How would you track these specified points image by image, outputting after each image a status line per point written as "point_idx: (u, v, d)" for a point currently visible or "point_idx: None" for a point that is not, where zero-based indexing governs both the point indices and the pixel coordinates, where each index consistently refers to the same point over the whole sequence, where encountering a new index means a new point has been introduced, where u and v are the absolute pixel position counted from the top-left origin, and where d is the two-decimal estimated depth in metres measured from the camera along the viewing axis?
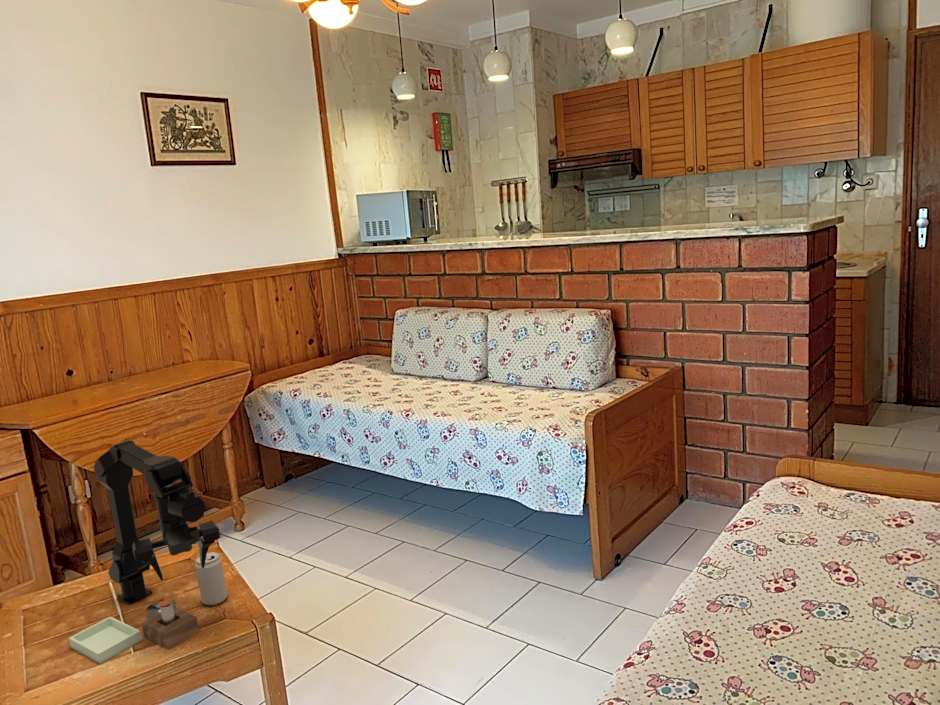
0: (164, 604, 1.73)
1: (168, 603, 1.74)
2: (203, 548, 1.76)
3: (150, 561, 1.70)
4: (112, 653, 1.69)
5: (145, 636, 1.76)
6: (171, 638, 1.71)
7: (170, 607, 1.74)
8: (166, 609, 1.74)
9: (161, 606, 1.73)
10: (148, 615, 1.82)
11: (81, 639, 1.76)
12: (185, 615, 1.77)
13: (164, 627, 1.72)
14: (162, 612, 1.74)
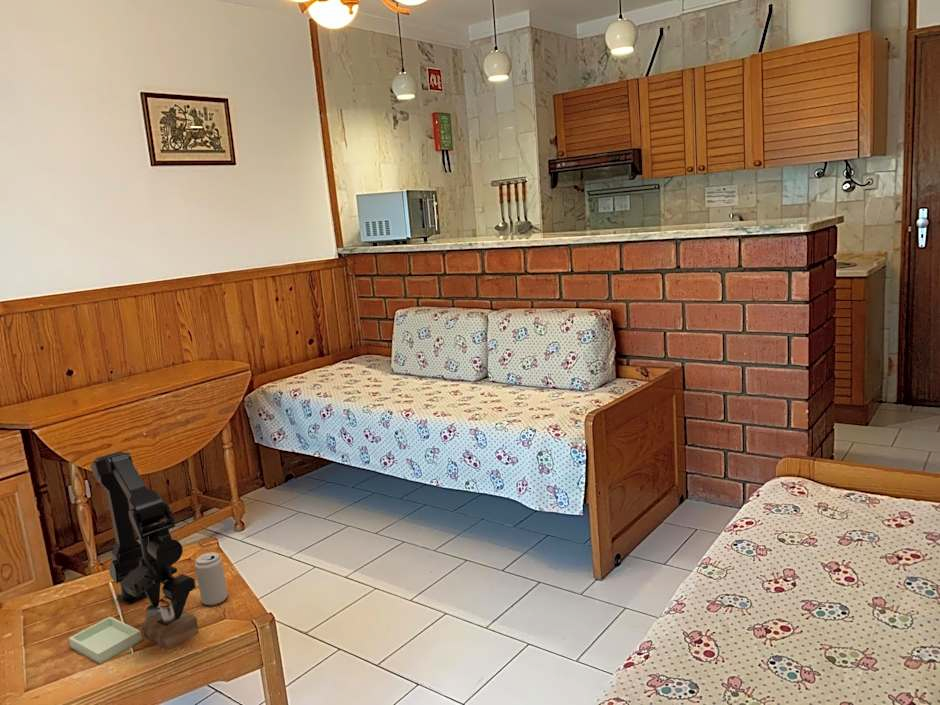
0: (164, 604, 1.73)
1: (168, 603, 1.74)
2: None
3: None
4: (112, 653, 1.69)
5: (145, 636, 1.76)
6: (171, 638, 1.71)
7: (170, 607, 1.74)
8: (166, 609, 1.74)
9: (161, 606, 1.73)
10: (148, 615, 1.82)
11: (81, 639, 1.76)
12: (185, 615, 1.77)
13: (164, 627, 1.72)
14: (162, 612, 1.74)
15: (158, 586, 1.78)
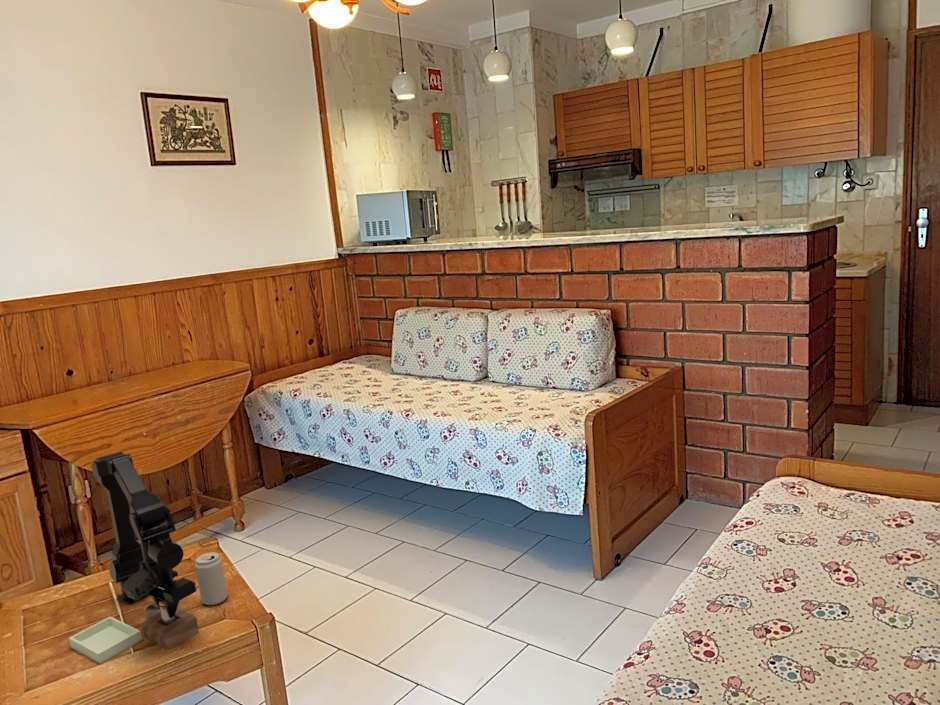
0: (164, 604, 1.73)
1: None
2: None
3: None
4: (112, 653, 1.69)
5: (145, 636, 1.76)
6: (171, 638, 1.71)
7: None
8: None
9: (161, 606, 1.73)
10: (148, 615, 1.82)
11: (81, 639, 1.76)
12: (185, 615, 1.77)
13: (164, 627, 1.72)
14: (162, 612, 1.74)
15: None
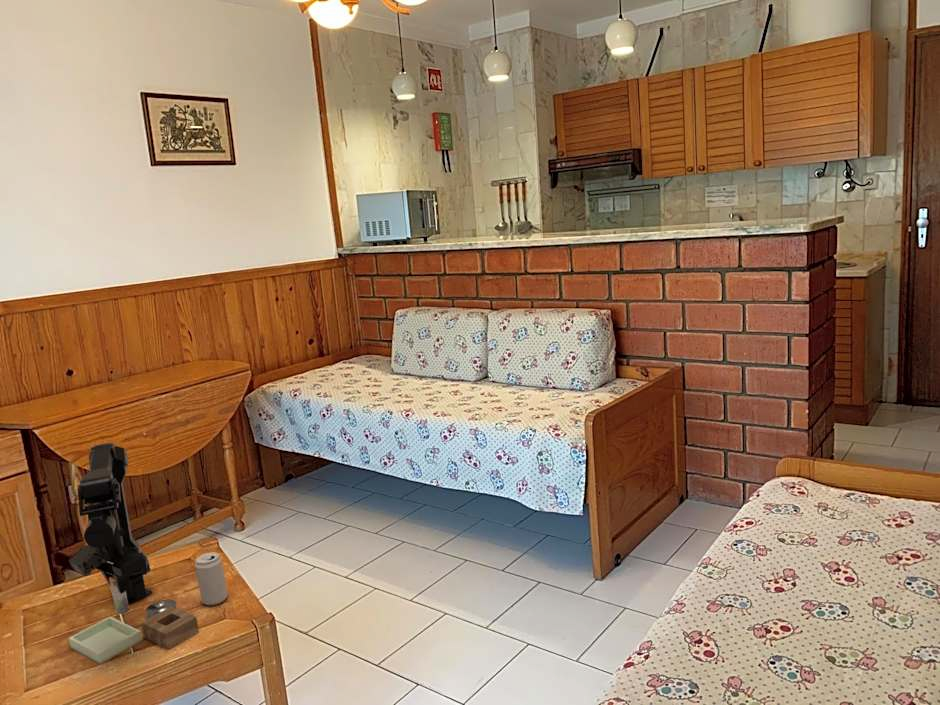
0: (114, 579, 1.71)
1: None
2: None
3: None
4: (112, 653, 1.69)
5: (145, 636, 1.76)
6: (171, 638, 1.71)
7: None
8: (116, 585, 1.71)
9: (111, 581, 1.71)
10: (148, 615, 1.82)
11: (81, 639, 1.76)
12: (185, 615, 1.77)
13: (164, 627, 1.72)
14: (112, 587, 1.71)
15: None
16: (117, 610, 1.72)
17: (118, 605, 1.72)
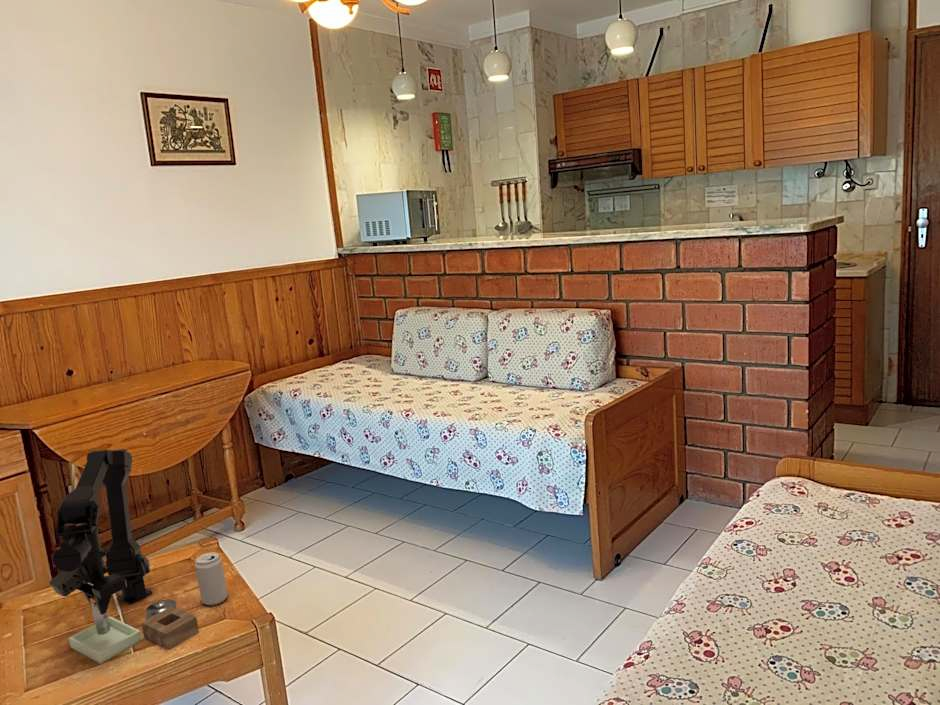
0: None
1: None
2: (93, 596, 1.69)
3: None
4: (112, 653, 1.69)
5: (145, 636, 1.76)
6: (171, 638, 1.71)
7: None
8: (96, 606, 1.71)
9: (92, 602, 1.71)
10: (148, 615, 1.82)
11: (81, 639, 1.76)
12: (185, 615, 1.77)
13: (164, 627, 1.72)
14: (93, 608, 1.72)
15: None
16: (98, 631, 1.73)
17: (99, 626, 1.72)
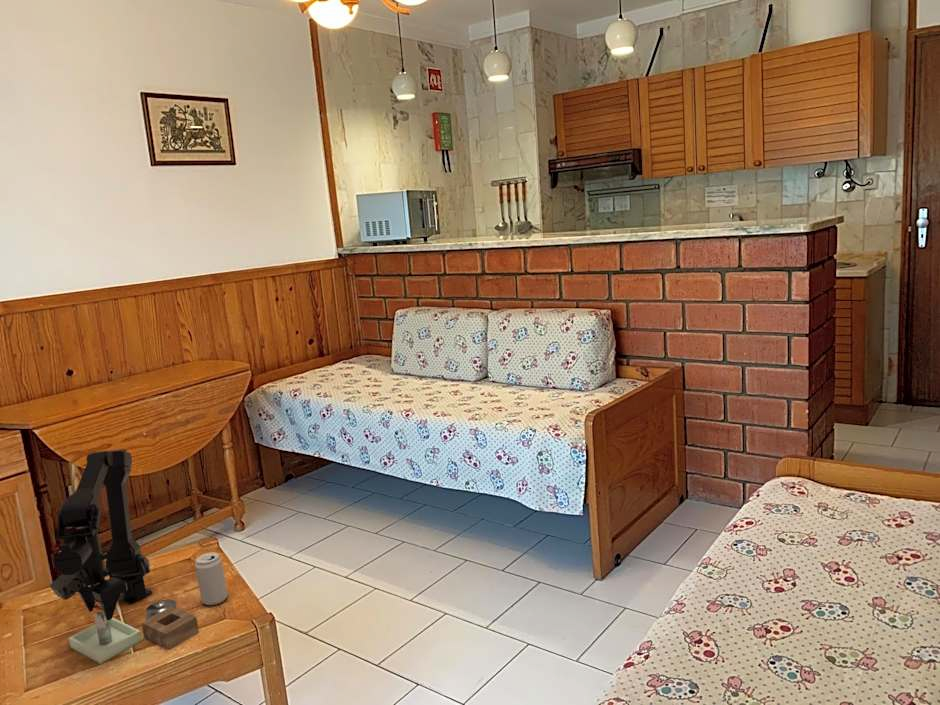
0: (98, 610, 1.72)
1: None
2: (99, 602, 1.68)
3: None
4: (112, 653, 1.69)
5: (145, 636, 1.76)
6: (171, 638, 1.71)
7: None
8: (99, 615, 1.72)
9: (95, 612, 1.72)
10: (148, 615, 1.82)
11: (81, 639, 1.76)
12: (185, 615, 1.77)
13: (164, 627, 1.72)
14: (96, 618, 1.72)
15: None
16: (100, 641, 1.73)
17: (101, 636, 1.73)
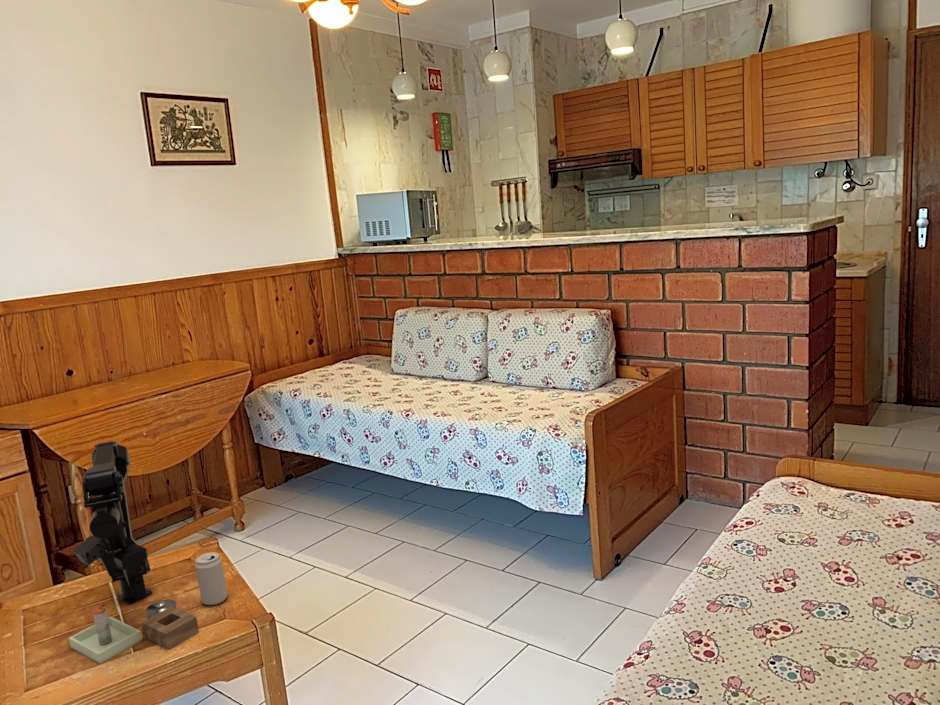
0: (97, 611, 1.72)
1: (101, 610, 1.72)
2: None
3: None
4: (112, 653, 1.69)
5: (145, 636, 1.76)
6: (171, 638, 1.71)
7: (103, 614, 1.73)
8: (99, 616, 1.72)
9: (94, 613, 1.72)
10: (148, 615, 1.82)
11: (81, 639, 1.76)
12: (185, 615, 1.77)
13: (164, 627, 1.72)
14: (95, 619, 1.72)
15: (114, 555, 1.81)
16: (100, 642, 1.73)
17: (101, 637, 1.73)
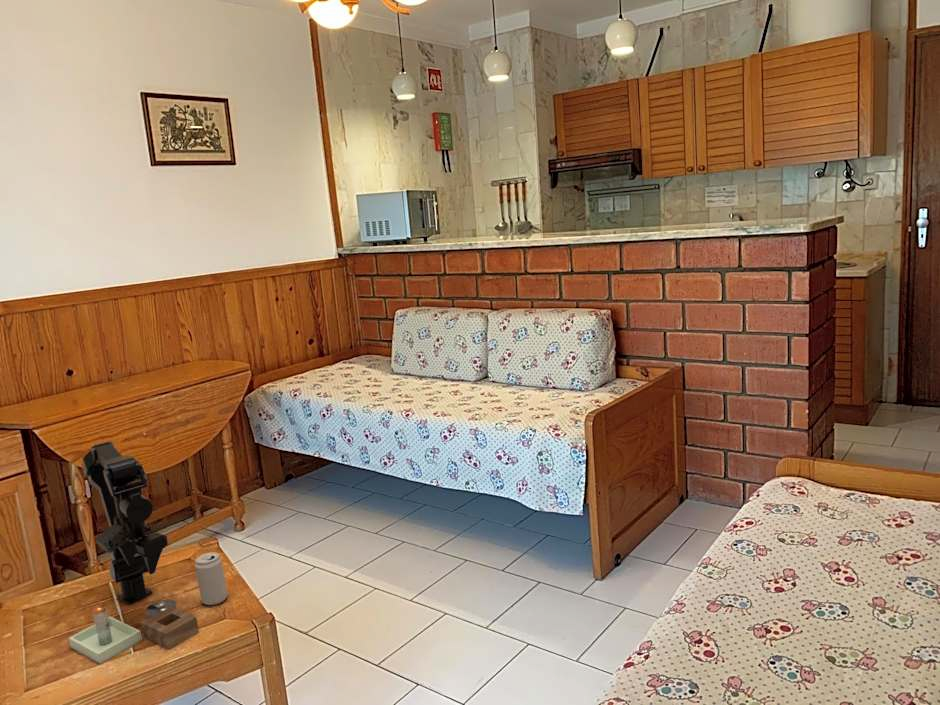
0: (97, 611, 1.72)
1: (101, 610, 1.72)
2: (143, 556, 1.77)
3: None
4: (112, 653, 1.69)
5: (145, 636, 1.76)
6: (171, 638, 1.71)
7: (103, 614, 1.73)
8: (99, 616, 1.72)
9: (94, 613, 1.72)
10: (148, 615, 1.82)
11: (81, 639, 1.76)
12: (185, 615, 1.77)
13: (164, 627, 1.72)
14: (95, 619, 1.72)
15: (133, 545, 1.85)
16: (100, 642, 1.73)
17: (101, 637, 1.73)
